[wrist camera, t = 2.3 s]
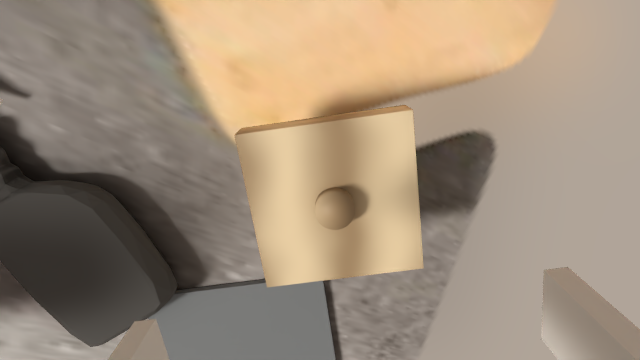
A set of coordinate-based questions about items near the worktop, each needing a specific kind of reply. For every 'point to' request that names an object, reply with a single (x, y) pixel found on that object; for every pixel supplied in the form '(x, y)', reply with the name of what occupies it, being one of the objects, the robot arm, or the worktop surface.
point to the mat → (247, 322)
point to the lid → (334, 195)
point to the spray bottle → (80, 255)
